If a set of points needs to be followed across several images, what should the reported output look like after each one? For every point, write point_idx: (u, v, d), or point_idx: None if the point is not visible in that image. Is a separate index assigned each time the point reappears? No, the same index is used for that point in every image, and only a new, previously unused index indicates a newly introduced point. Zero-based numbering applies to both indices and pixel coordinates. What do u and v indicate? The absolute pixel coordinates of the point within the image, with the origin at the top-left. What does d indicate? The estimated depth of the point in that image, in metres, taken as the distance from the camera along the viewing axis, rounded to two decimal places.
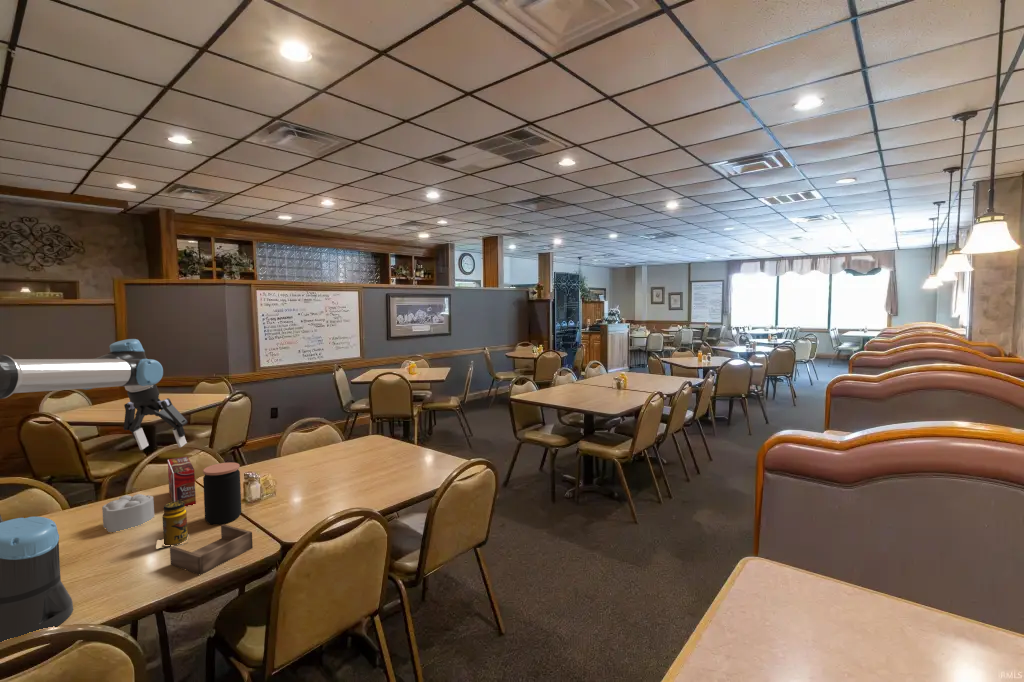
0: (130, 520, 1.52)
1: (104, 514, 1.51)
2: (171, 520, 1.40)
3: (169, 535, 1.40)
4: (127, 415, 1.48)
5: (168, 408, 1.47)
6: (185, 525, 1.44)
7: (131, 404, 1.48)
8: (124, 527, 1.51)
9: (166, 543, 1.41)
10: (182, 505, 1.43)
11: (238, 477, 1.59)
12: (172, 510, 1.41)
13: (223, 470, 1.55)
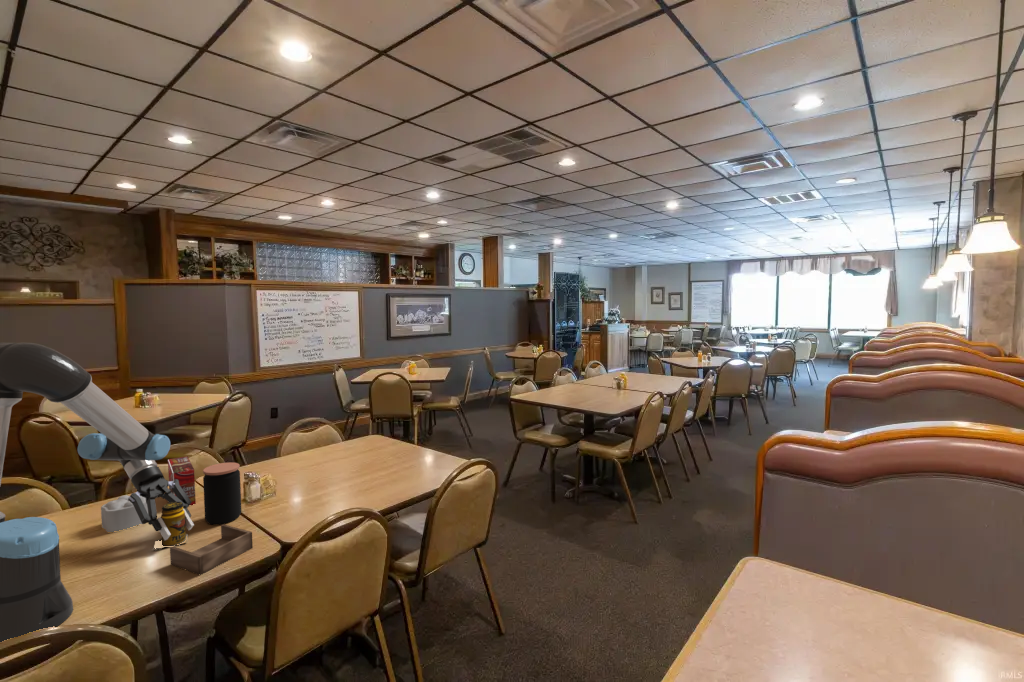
0: (129, 520, 1.52)
1: (103, 514, 1.51)
2: (169, 521, 1.40)
3: None
4: (140, 502, 1.39)
5: None
6: (183, 526, 1.43)
7: (135, 493, 1.41)
8: (123, 527, 1.51)
9: (164, 544, 1.40)
10: (180, 506, 1.42)
11: (238, 477, 1.59)
12: (170, 511, 1.40)
13: (223, 470, 1.55)
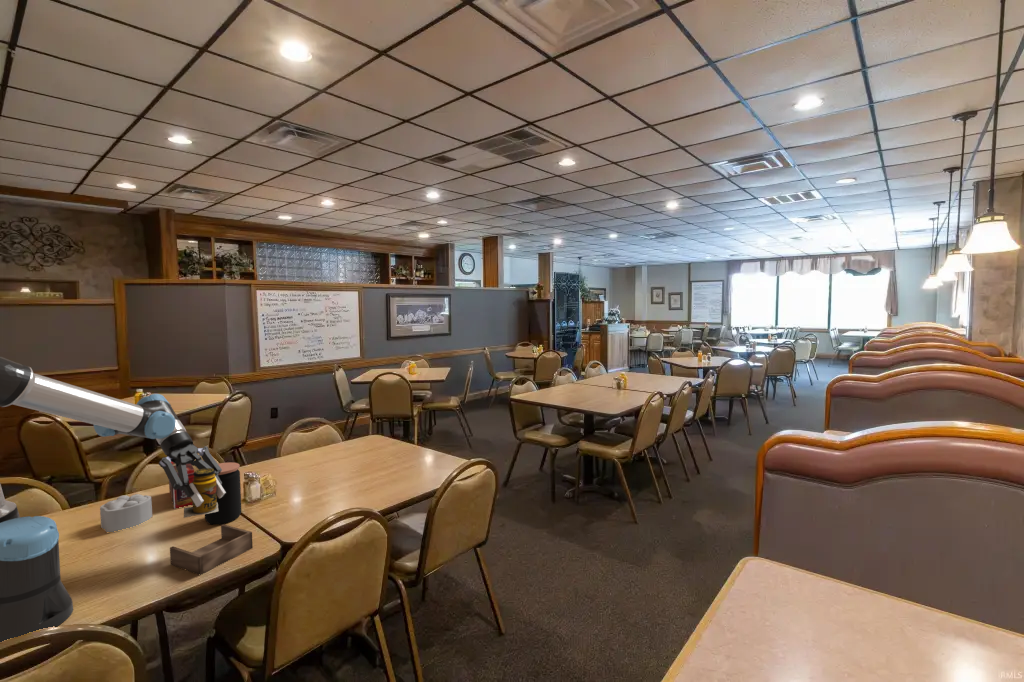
0: (128, 520, 1.52)
1: (102, 514, 1.51)
2: (202, 487, 1.35)
3: None
4: (172, 467, 1.34)
5: None
6: (215, 493, 1.38)
7: None
8: (123, 527, 1.51)
9: (195, 511, 1.35)
10: (213, 472, 1.37)
11: (238, 477, 1.59)
12: (203, 477, 1.35)
13: (223, 470, 1.55)
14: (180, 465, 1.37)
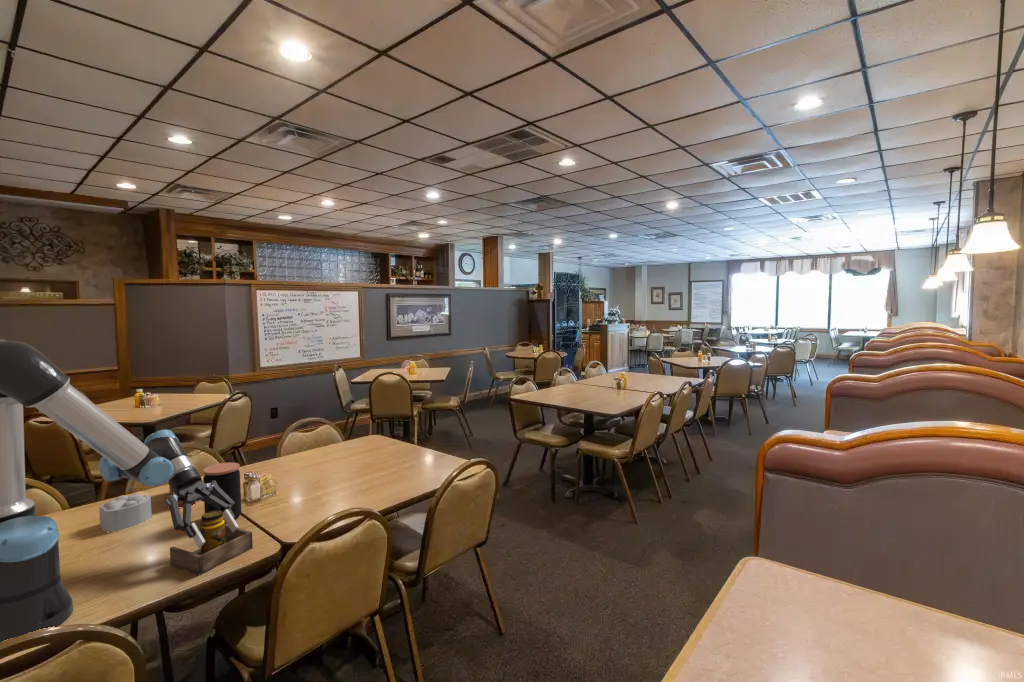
0: (128, 520, 1.52)
1: (101, 514, 1.51)
2: (210, 531, 1.32)
3: (207, 547, 1.32)
4: (176, 506, 1.31)
5: None
6: (223, 536, 1.35)
7: (173, 496, 1.33)
8: (122, 527, 1.51)
9: None
10: (220, 515, 1.34)
11: (238, 477, 1.59)
12: (210, 521, 1.32)
13: (223, 470, 1.55)
14: (186, 503, 1.33)
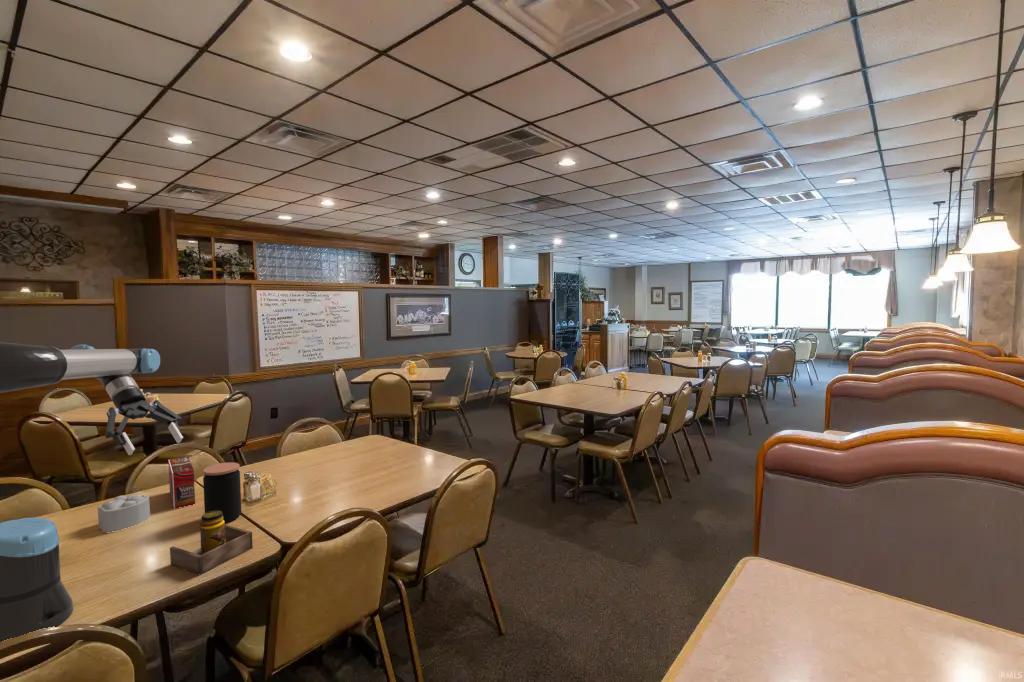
0: (127, 520, 1.52)
1: (100, 514, 1.51)
2: (210, 531, 1.32)
3: (207, 547, 1.32)
4: (113, 417, 1.39)
5: None
6: (223, 536, 1.35)
7: (115, 409, 1.42)
8: (121, 527, 1.51)
9: None
10: (220, 515, 1.34)
11: (238, 477, 1.59)
12: (210, 521, 1.32)
13: (223, 470, 1.55)
14: None
